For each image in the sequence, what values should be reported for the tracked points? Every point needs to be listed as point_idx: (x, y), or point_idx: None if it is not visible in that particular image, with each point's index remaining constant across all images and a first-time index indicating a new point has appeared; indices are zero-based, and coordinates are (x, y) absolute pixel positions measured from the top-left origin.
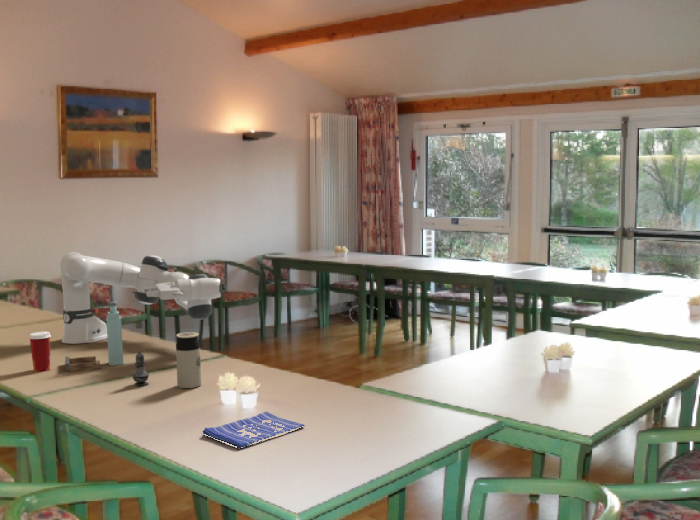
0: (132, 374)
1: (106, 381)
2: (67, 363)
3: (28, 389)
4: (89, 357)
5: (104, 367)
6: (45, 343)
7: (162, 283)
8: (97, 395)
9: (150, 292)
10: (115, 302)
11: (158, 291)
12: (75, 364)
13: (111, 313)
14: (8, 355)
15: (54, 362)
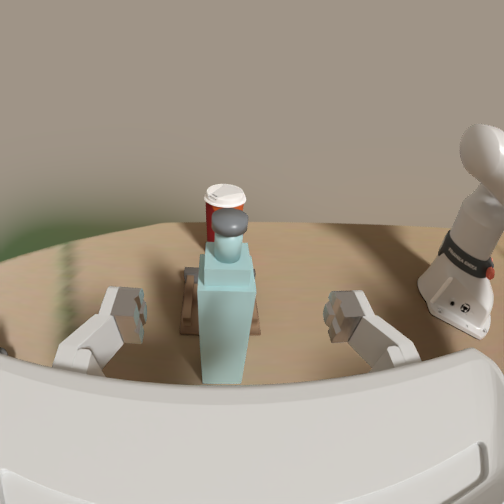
0: (4, 349)
1: (65, 330)
2: (187, 270)
3: (105, 240)
4: None
5: (189, 342)
6: (208, 212)
7: (501, 397)
8: (6, 304)
9: (102, 309)
10: (216, 221)
11: (56, 364)
12: (186, 283)
13: (206, 249)
14: (340, 225)
15: (277, 267)
